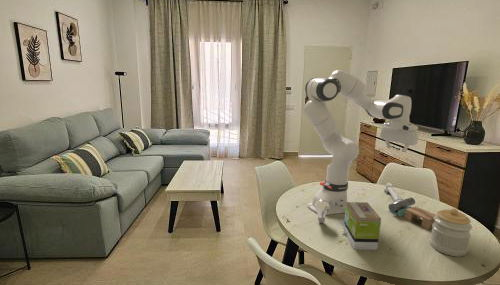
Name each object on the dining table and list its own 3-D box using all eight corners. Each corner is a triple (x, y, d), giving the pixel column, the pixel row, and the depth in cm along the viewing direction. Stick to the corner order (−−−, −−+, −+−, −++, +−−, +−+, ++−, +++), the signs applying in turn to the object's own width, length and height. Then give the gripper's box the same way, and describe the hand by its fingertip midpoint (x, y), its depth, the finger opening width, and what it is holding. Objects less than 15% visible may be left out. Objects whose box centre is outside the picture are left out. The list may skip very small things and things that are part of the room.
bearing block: (427, 230, 131) (429, 219, 130) (404, 219, 141) (405, 209, 140) (438, 226, 135) (439, 216, 133) (414, 216, 145) (415, 206, 144)
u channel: (400, 216, 144) (401, 211, 144) (389, 211, 150) (389, 206, 149) (412, 212, 149) (413, 207, 148) (401, 207, 154) (402, 203, 154)
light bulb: (320, 227, 132) (322, 204, 129) (310, 221, 138) (312, 198, 135) (331, 224, 135) (333, 201, 132) (321, 218, 141) (323, 195, 138)
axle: (394, 213, 144) (396, 206, 143) (387, 209, 147) (389, 202, 146) (414, 206, 151) (415, 199, 150) (407, 202, 154) (408, 196, 153)
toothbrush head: (397, 201, 154) (383, 180, 177) (395, 211, 156) (382, 189, 179) (407, 202, 153) (392, 180, 176) (405, 212, 155) (390, 190, 178)
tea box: (342, 230, 129) (345, 201, 126) (364, 231, 129) (368, 201, 126) (353, 249, 115) (356, 216, 112) (378, 250, 114) (382, 217, 111)
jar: (453, 260, 109) (462, 218, 105) (422, 243, 121) (428, 205, 117) (473, 253, 114) (482, 213, 110) (441, 236, 126) (448, 200, 122)
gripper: (379, 122, 159) (376, 146, 162) (413, 128, 141) (409, 154, 144) (386, 122, 162) (383, 145, 165) (421, 127, 144) (417, 153, 147)
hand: (396, 149), depth 154 cm, fingers open, 8 cm apart
